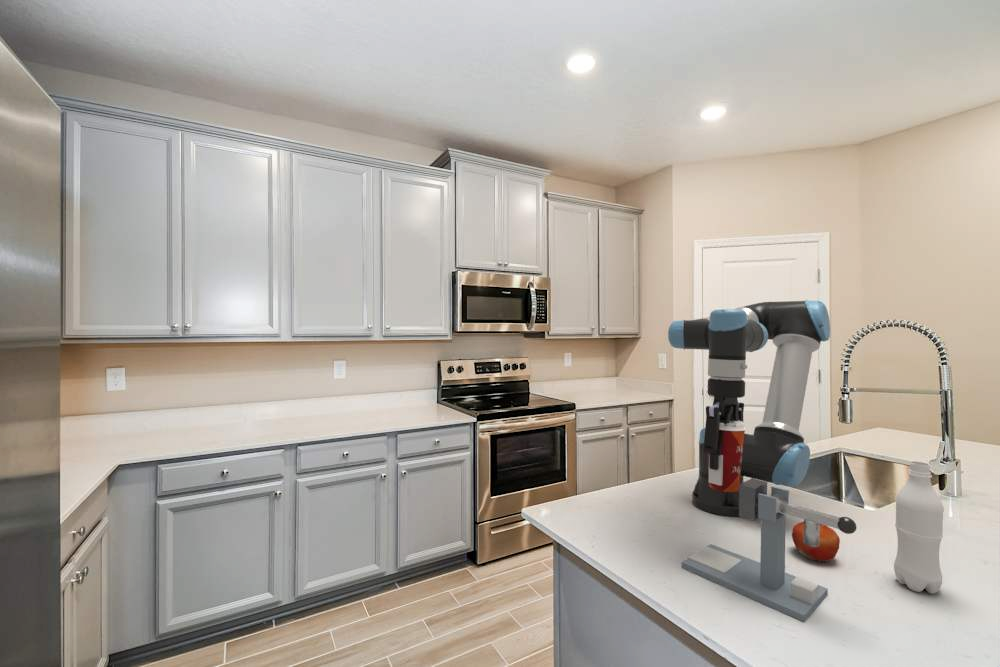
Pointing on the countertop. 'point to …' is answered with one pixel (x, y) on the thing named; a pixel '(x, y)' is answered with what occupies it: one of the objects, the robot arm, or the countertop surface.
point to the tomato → (826, 543)
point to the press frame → (761, 567)
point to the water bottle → (919, 531)
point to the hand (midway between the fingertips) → (723, 480)
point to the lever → (790, 512)
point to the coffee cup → (731, 456)
